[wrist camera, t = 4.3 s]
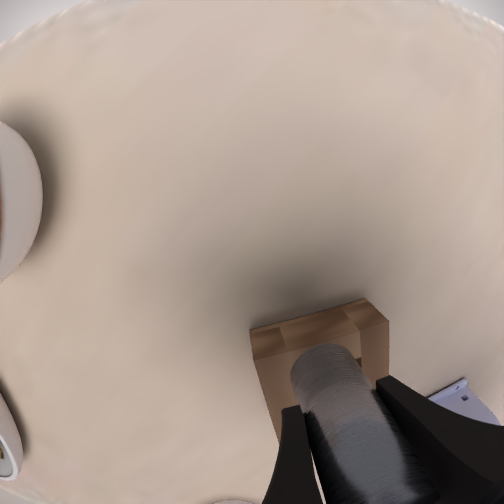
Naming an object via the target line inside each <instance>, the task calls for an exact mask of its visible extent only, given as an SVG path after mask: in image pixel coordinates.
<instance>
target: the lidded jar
mask: <svg viewBox="0 0 504 504" xmlns="http://www.w3.org/2000/svg"><path fill="white" fill-rule="evenodd" d="M42 207H43V188H42V180H41V174H40V170H39V167H38V163H37V161H36V159H35V156H34V154H33V152H32V150H31V148H30V147H29V145H28V143H27V142H26V141H25V140H24V139H23V138H22V136H21V135H20V134H19V133H18V132H17V131H15V130H14V129H13V128H11V127H10V126H8V125H7V124H5V123H4V122H1V121H0V284H1V283H2V282H3V281H4V280H5V279H7V278H8V277H9V276H10V275H11V274H12V273H13V272H14V271H15V270H16V269H17V267H18V266H19V265H20V264H21V263H22V261H23V260H24V258H25V257H26V255H27V254H28V252H29V250H30V248H31V246H32V244H33V243H34V240H35V237H36V234H37V231H38V228H39V225H40V220H41V215H42Z"/></svg>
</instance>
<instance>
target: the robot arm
mask: <svg viewBox="0 0 504 504" xmlns="http://www.w3.org/2000/svg"><path fill="white" fill-rule="evenodd" d="M376 392H377V393H378V395H379V396H380V398H381V399H382V401H383V402H384V404H385V406H386V407H387V409H388V410H389V412H390V413H391V415H392V417H393V418H394V420H395V421H396V423H397V424H398V426H399V427H400V429H401V431H402V432H403V434H404V435H405V437H406V439H407V440H408V442H409V443H410V445H411V447H412V448H413V450H414V451H415V453H416V455H417V456H418V458H419V459H420V461H421V463H422V464H423V466H424V468H425V469H426V471H427V473H428V474H429V476H430V477H431V479H432V481H433V482H434V484H435V486H436V487H437V489H438V491H439V492H440V498H439V500H438V502H437V503H436V504H504V426H501V425H500V423H499V421H498V419H497V418H496V416H495V415H494V414H493V413H492V412H491V411H490V410H489V409H488V408H487V407H486V405H485V404H484V403H483V402H482V401H481V400H480V399H479V398H478V397H477V396H476V395H475V394H474V393H473V392H472V391H471V390H470V389H469V388H468V387H467V379H466V378H464V379H462V380H460V381H458V382H457V383H455V384H453V385H451V386H450V387H448V388H446V389H444V390H442V391H440V392H438V393H436V394H435V395H433V396H431V397H429V398H426V397H424V396H422V395H421V394H419V393H417V392H416V391H414V390H412V389H411V388H409V387H408V386H406V385H405V384H403V383H402V382H400V381H398V380H397V379H395V378H394V377H392V376H391V375H389V376H386V377H383V378H381V379H378V380H376ZM281 415H282V429H281V439H280V445H279V451H278V456H277V460H276V464H275V468H274V472H273V475H272V479H271V482H270V485H269V487H268V490H267V493H266V495H265V498H264V500H263V502H262V504H323V502H322V499H321V495H320V492H319V489H318V485H317V482H316V479H315V474H314V468H313V461H312V456H311V450H310V446H309V441H308V435H307V429H306V424H305V419H304V416H303V413H302V410H301V407H300V404H299V405H295V406H291V407H287V408H283V410H282V411H281Z"/></svg>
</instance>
